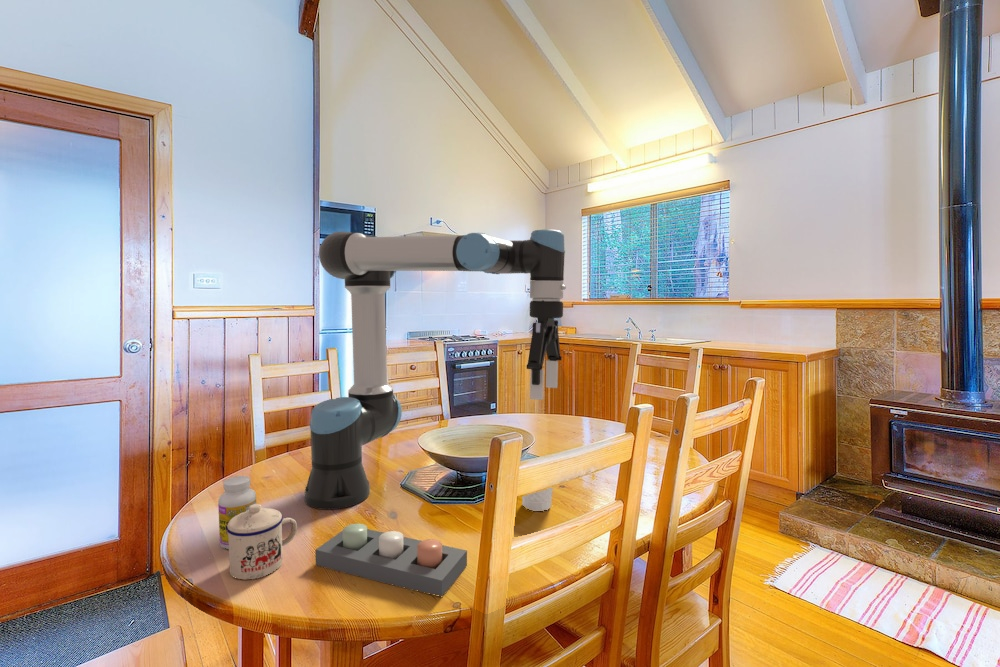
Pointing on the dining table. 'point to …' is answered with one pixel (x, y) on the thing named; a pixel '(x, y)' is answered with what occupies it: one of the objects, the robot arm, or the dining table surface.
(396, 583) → the button console
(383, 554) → the cream button
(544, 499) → the white cup
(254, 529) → the teacup with lid
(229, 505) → the supplement bottle
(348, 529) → the sage button
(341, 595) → the dining table surface
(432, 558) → the terracotta button
